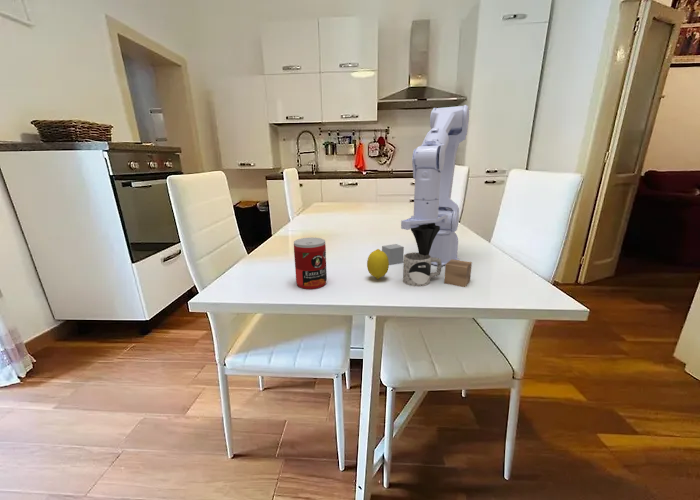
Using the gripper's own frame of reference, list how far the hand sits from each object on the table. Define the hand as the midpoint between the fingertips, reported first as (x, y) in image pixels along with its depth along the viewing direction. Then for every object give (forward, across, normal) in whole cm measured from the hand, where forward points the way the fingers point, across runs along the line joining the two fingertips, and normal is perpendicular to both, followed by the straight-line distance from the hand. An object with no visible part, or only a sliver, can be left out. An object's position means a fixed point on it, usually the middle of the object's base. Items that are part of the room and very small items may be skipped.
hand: (423, 254), depth 78 cm
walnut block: (+7, -6, +6) cm, 11 cm away
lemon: (+7, +8, -8) cm, 13 cm away
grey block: (+7, -5, -16) cm, 18 cm away
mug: (+7, 0, 0) cm, 7 cm away
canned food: (+7, +23, -16) cm, 29 cm away
